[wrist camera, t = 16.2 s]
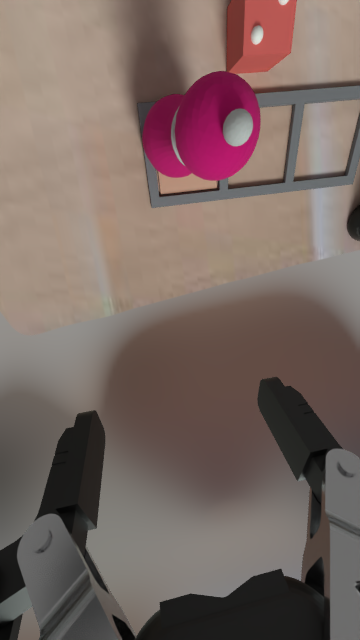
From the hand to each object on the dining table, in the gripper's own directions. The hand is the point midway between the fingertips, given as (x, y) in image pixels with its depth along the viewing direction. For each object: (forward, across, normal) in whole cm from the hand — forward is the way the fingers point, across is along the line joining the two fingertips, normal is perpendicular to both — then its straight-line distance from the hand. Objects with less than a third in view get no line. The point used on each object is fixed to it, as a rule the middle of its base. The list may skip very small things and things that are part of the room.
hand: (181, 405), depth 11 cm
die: (+30, -14, -21) cm, 39 cm away
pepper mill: (+29, -4, -12) cm, 32 cm away
